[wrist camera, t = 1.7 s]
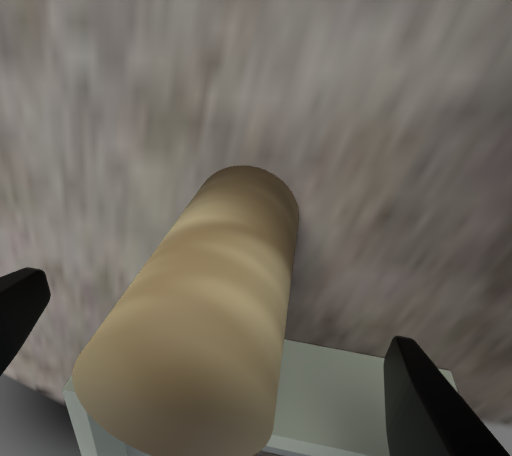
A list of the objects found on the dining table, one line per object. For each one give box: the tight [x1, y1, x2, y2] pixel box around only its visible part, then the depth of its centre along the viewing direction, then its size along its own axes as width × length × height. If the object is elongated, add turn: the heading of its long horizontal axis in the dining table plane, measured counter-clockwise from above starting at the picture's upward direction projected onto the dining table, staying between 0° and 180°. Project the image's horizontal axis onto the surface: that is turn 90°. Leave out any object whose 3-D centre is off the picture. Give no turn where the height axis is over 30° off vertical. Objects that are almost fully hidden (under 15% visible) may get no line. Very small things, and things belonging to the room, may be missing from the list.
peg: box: [72, 166, 299, 456], centre depth 10 cm, size 4×4×8 cm
